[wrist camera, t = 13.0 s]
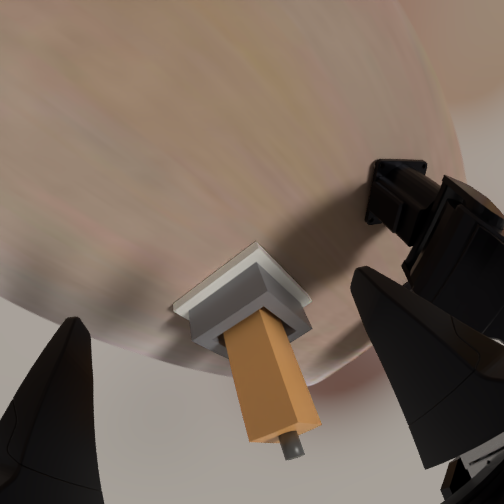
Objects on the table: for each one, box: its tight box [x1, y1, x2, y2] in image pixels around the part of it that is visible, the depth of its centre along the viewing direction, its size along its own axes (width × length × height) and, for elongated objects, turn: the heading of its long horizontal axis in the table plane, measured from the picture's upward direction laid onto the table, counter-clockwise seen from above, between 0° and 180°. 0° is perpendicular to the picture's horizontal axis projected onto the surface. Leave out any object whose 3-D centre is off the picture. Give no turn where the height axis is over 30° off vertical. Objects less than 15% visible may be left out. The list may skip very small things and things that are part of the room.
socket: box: [173, 241, 313, 359], centre depth 26 cm, size 10×10×4 cm
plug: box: [223, 306, 322, 460], centre depth 21 cm, size 4×4×15 cm
